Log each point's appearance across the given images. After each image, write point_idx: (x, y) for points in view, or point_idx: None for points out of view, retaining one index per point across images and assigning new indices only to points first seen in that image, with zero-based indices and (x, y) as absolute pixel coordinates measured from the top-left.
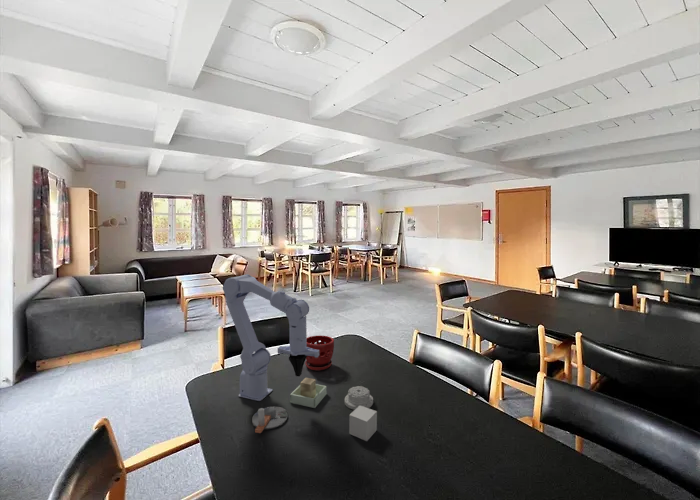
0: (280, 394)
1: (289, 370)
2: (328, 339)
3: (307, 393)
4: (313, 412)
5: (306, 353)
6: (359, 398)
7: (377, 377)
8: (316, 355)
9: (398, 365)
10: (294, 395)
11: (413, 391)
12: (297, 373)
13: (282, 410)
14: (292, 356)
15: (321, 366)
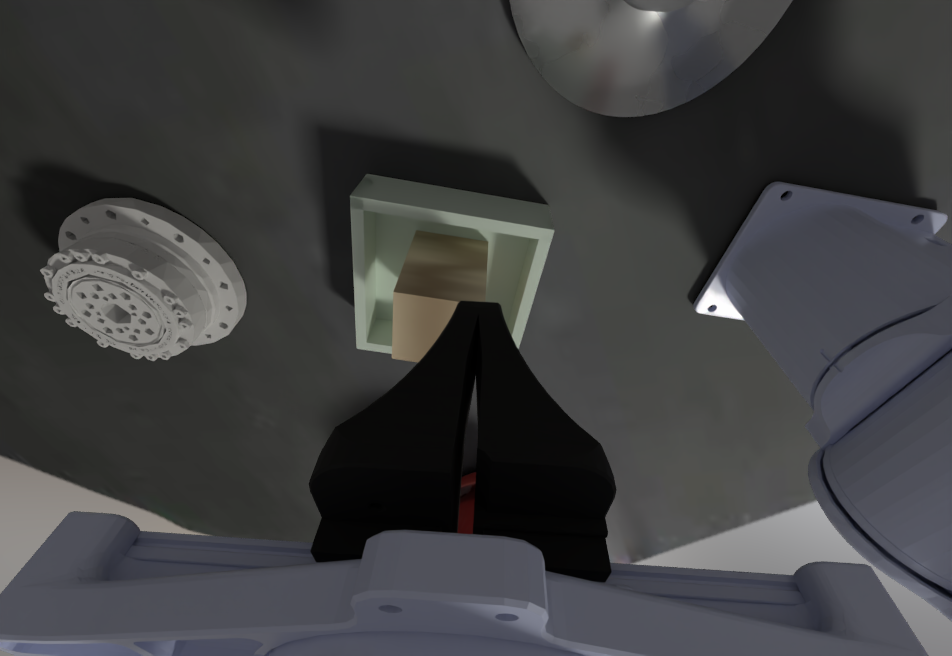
0: (633, 279)
1: (629, 461)
2: None
3: (432, 256)
4: (351, 121)
5: (190, 596)
6: (70, 248)
7: (221, 449)
8: (54, 551)
9: (199, 512)
10: (517, 223)
11: (10, 383)
12: (473, 316)
13: (571, 69)
14: (553, 515)
15: None
